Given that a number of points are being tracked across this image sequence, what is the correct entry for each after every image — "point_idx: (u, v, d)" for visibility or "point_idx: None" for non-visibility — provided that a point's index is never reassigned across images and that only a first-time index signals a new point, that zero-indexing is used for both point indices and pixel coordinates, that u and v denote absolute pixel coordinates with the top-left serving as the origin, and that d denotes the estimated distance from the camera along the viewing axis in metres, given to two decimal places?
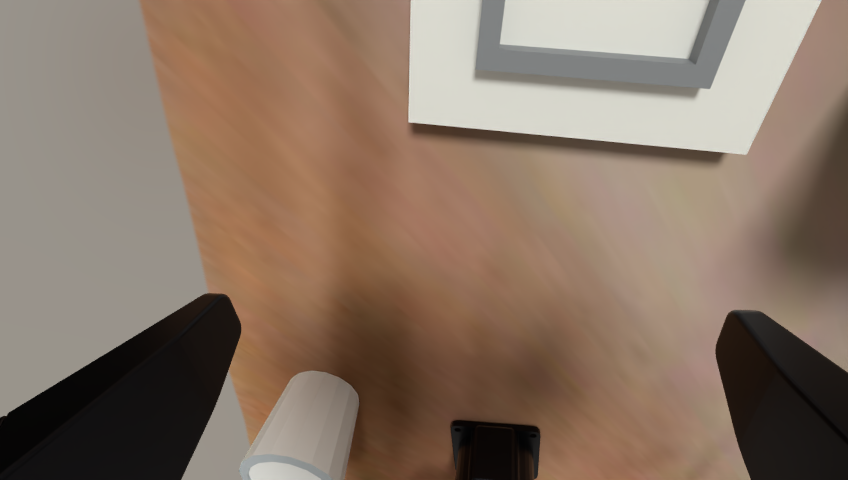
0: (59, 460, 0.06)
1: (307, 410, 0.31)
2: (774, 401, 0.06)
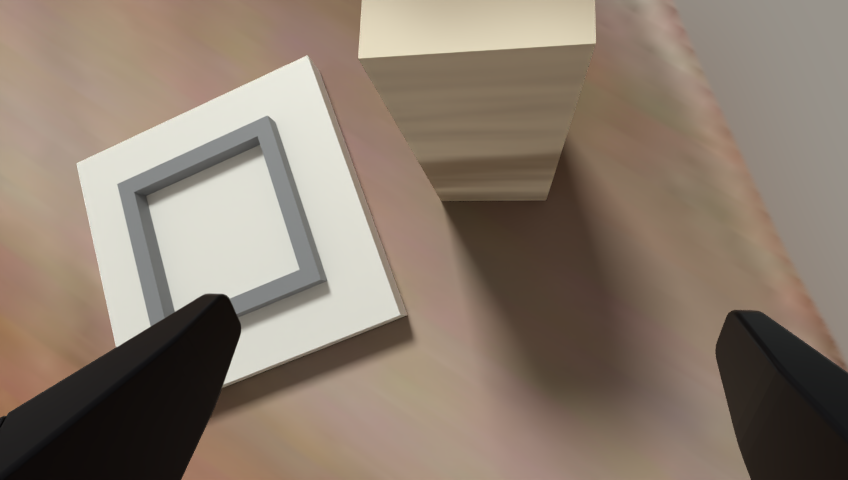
0: (59, 460, 0.06)
1: None
2: (774, 401, 0.06)
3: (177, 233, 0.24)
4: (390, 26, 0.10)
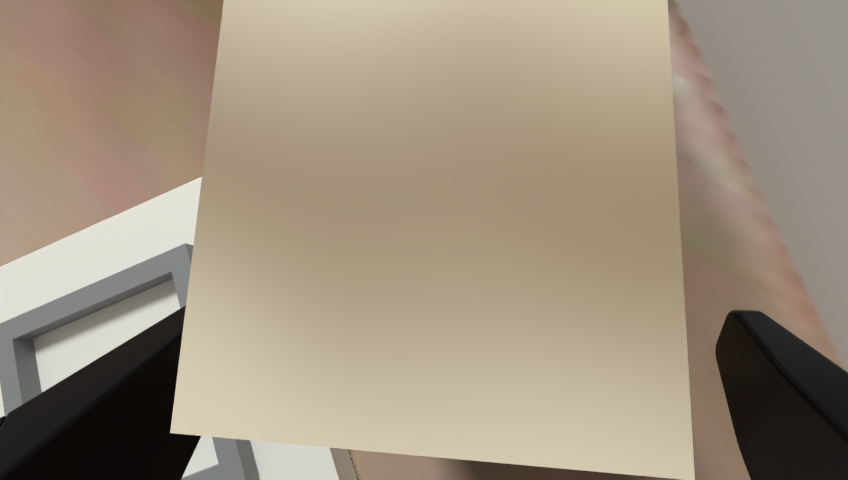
0: (59, 460, 0.06)
1: None
2: (774, 401, 0.06)
3: None
4: (239, 365, 0.05)
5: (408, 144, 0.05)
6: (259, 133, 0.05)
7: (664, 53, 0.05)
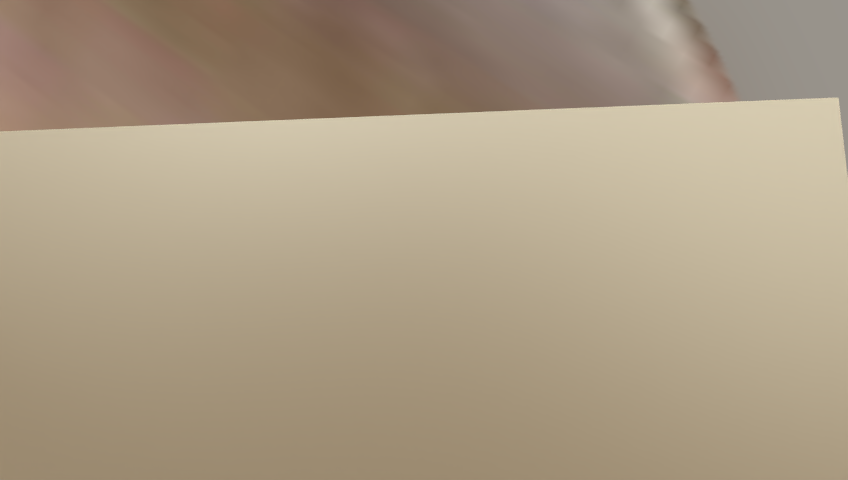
0: None
1: None
2: None
3: None
4: None
5: (301, 468, 0.02)
6: (27, 408, 0.03)
7: None
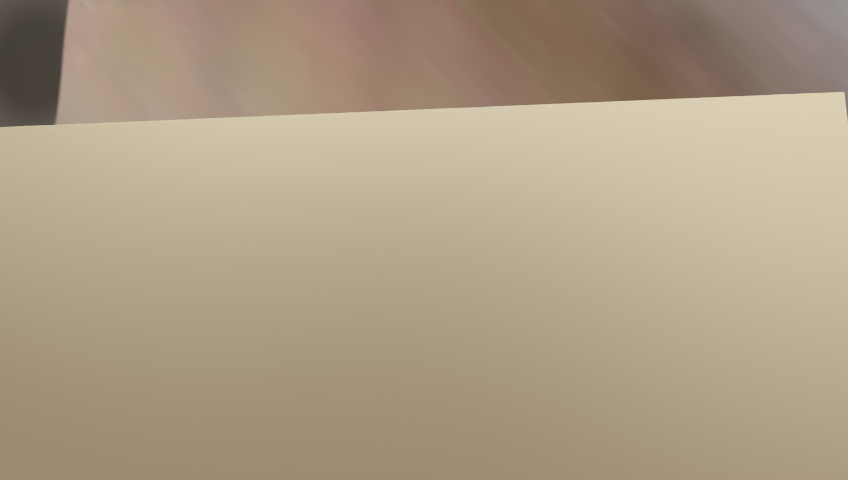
0: None
1: None
2: None
3: None
4: None
5: (307, 463, 0.02)
6: (32, 403, 0.03)
7: None
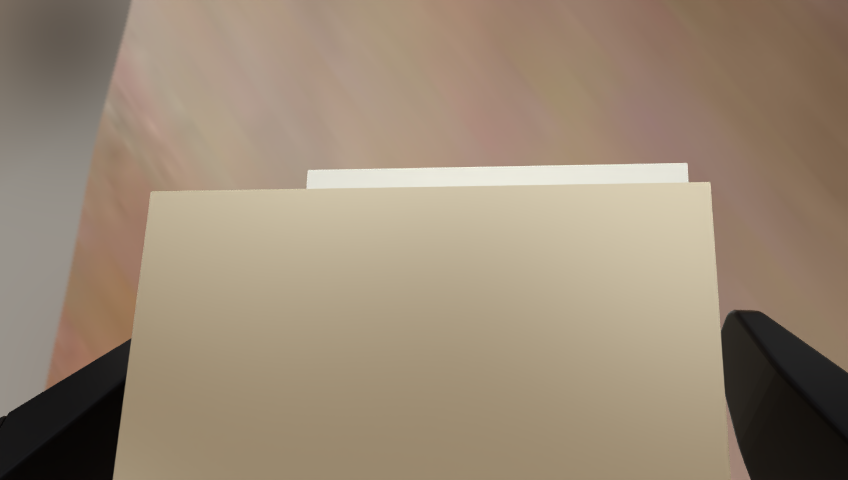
0: (59, 460, 0.06)
1: None
2: (774, 401, 0.06)
3: None
4: None
5: (378, 413, 0.04)
6: (190, 379, 0.04)
7: (712, 320, 0.03)
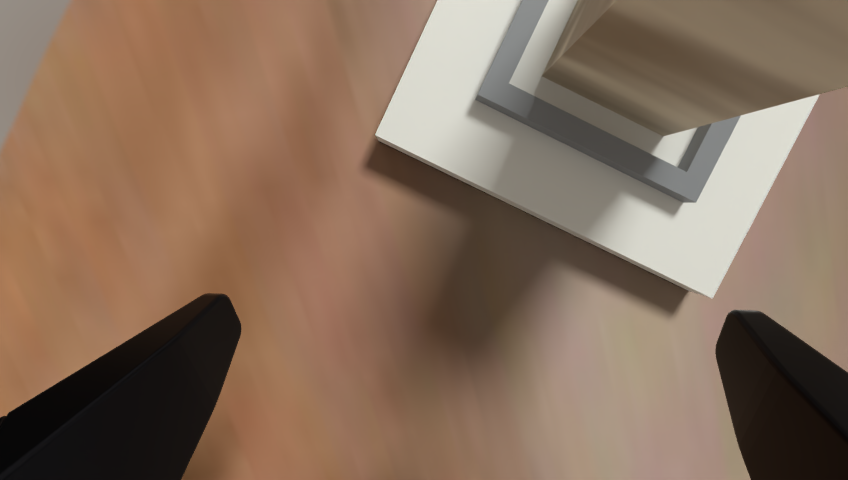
0: (59, 460, 0.06)
1: None
2: (774, 401, 0.06)
3: None
4: None
5: None
6: None
7: None
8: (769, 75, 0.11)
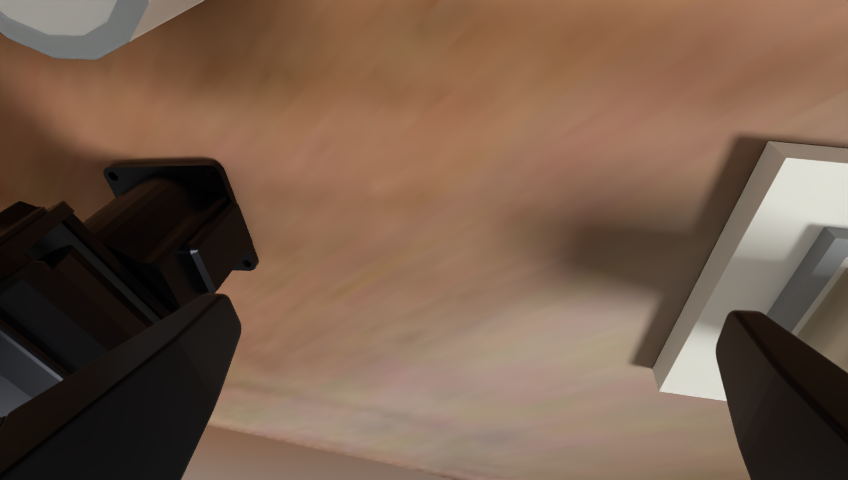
0: (59, 460, 0.06)
1: None
2: (774, 401, 0.06)
3: None
4: None
5: None
6: None
7: None
8: None
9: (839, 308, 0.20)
